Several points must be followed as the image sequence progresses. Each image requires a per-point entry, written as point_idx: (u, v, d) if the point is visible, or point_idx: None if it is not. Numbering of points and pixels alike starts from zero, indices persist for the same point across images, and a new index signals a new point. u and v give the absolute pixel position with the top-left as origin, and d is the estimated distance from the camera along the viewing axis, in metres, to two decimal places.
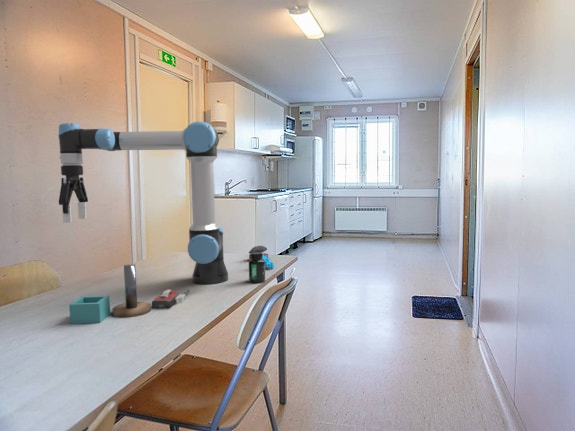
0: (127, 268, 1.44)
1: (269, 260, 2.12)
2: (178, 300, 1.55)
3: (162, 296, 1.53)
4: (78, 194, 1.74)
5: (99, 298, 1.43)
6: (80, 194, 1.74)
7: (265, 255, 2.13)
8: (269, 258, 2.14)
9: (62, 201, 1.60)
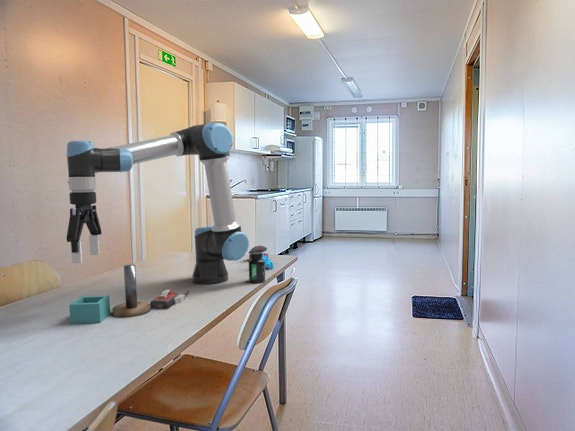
0: (127, 268, 1.44)
1: (269, 260, 2.12)
2: (177, 300, 1.55)
3: (161, 296, 1.53)
4: (90, 226, 1.43)
5: (99, 298, 1.43)
6: (92, 226, 1.43)
7: (265, 255, 2.13)
8: (269, 258, 2.14)
9: (71, 238, 1.29)
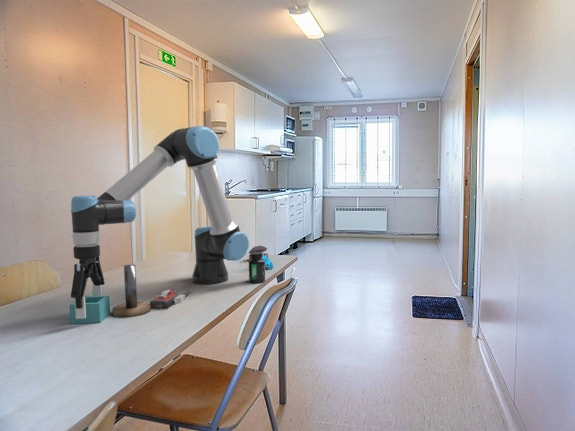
0: (127, 268, 1.44)
1: (269, 260, 2.12)
2: (177, 301, 1.55)
3: (160, 296, 1.52)
4: (93, 277, 1.44)
5: (99, 298, 1.43)
6: (96, 277, 1.44)
7: (265, 255, 2.13)
8: (269, 258, 2.14)
9: (75, 295, 1.30)
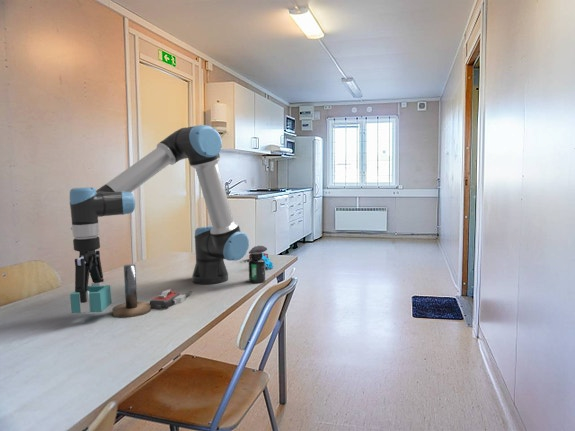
0: (127, 268, 1.44)
1: (268, 260, 2.12)
2: (176, 301, 1.55)
3: (160, 296, 1.52)
4: (93, 272, 1.43)
5: (100, 288, 1.43)
6: (95, 272, 1.43)
7: (265, 255, 2.13)
8: (269, 258, 2.14)
9: (79, 289, 1.32)
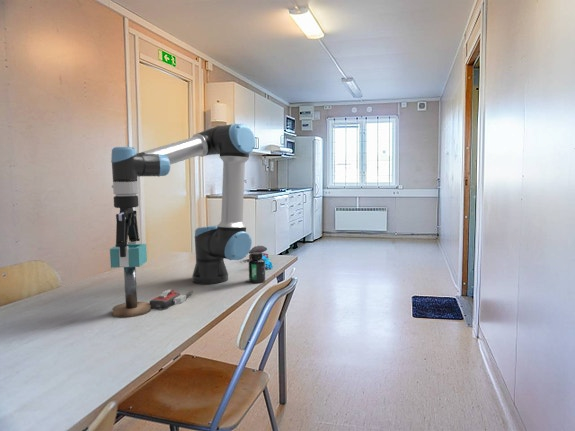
0: (127, 268, 1.44)
1: (268, 260, 2.12)
2: (177, 301, 1.54)
3: (160, 296, 1.52)
4: (130, 230, 1.48)
5: (136, 246, 1.48)
6: (132, 230, 1.48)
7: None
8: (269, 258, 2.14)
9: (120, 243, 1.37)
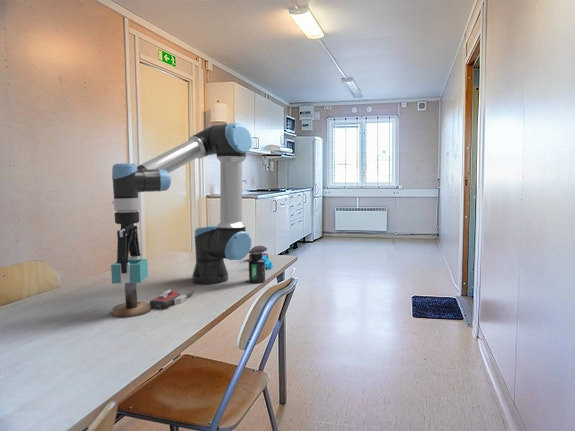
0: None
1: (268, 260, 2.12)
2: (177, 301, 1.54)
3: (160, 296, 1.52)
4: (131, 246, 1.49)
5: (137, 261, 1.49)
6: (133, 246, 1.49)
7: None
8: (268, 258, 2.14)
9: (121, 260, 1.37)
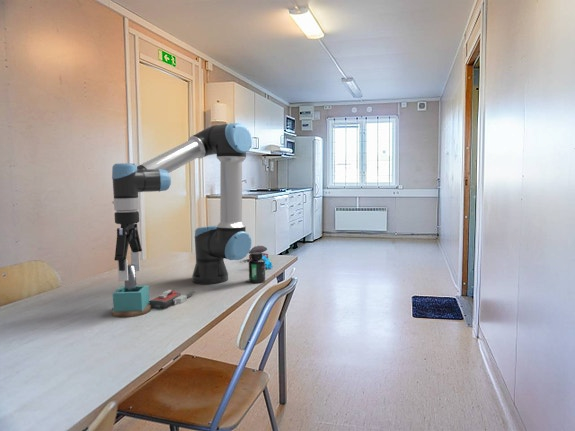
0: None
1: (268, 260, 2.12)
2: (177, 301, 1.54)
3: (160, 296, 1.52)
4: (132, 243, 1.50)
5: (139, 288, 1.50)
6: (134, 243, 1.50)
7: None
8: (268, 258, 2.14)
9: (119, 257, 1.35)
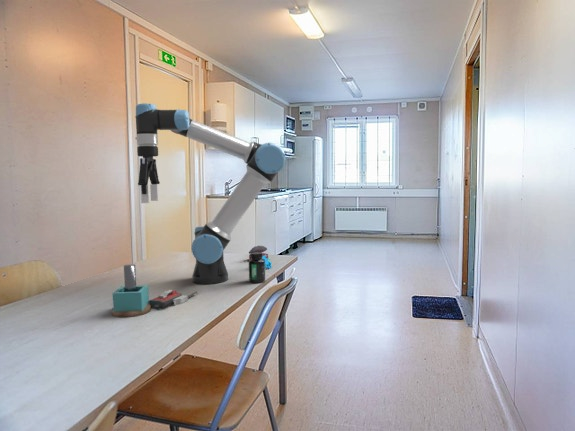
0: (127, 268, 1.44)
1: (267, 260, 2.12)
2: (176, 301, 1.54)
3: (160, 296, 1.53)
4: (151, 176, 1.73)
5: (139, 288, 1.50)
6: (153, 176, 1.74)
7: (264, 255, 2.14)
8: (268, 258, 2.15)
9: (142, 181, 1.59)
